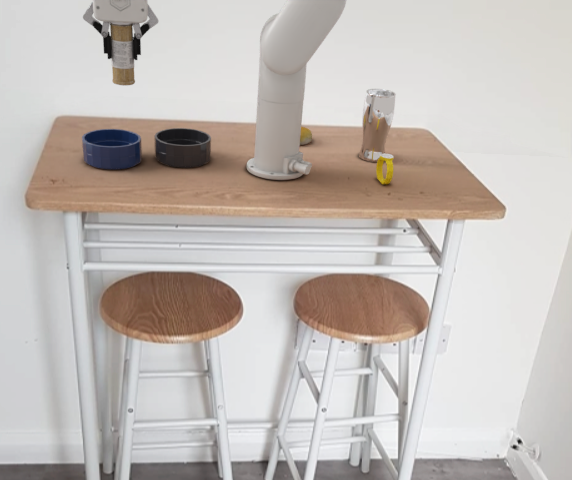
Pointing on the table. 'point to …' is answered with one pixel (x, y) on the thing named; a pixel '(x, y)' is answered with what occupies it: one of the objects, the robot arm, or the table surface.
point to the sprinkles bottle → (122, 53)
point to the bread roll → (305, 136)
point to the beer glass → (376, 122)
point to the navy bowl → (112, 149)
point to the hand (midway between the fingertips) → (122, 57)
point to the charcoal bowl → (182, 147)
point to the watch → (389, 163)
